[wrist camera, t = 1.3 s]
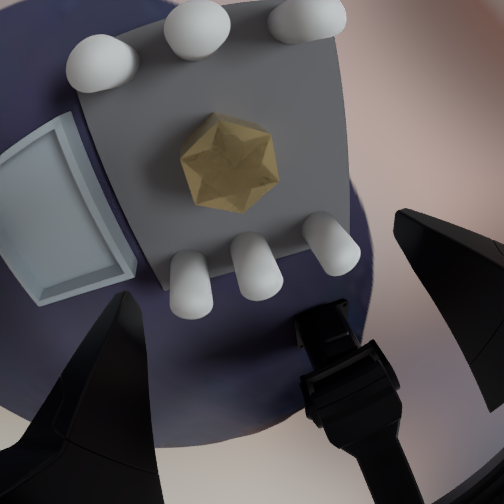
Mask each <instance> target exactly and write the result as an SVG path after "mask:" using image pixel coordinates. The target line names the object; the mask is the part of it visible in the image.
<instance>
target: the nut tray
mask: <svg viewBox="0 0 504 504" xmlns="http://www.w3.org/2000/svg"><path fill="white" fill-rule="evenodd" d="M0 255H1V256H2V258H3V259H4V261H5V262H6V264H7V265H8V267H9V268H10V270H11V271H12V273H13V274H14V275H15V277H16V278H17V280H18V281H19V282H20V284H21V285H22V286H23V288H24V289H25V290H26V292H27V293H28V294H29V295H30V297H31V298H32V299H33V300H34V302H35V303H36V304H37V305H38V307H40V306H43V305H46V304H49V303H53V302H56V301H59V300H62V299H66V298H69V297H72V296H75V295H78V294H82V293H85V292H88V291H92V290H95V289H98V288H101V287H105V286H108V285H111V284H114V283H118V282H121V281H124V280H128V279H131V278H134V277H135V274H136V268H137V262H138V261H137V259H136V257H135V255H134V254H133V252H132V250H131V248H130V246H129V244H128V242H127V240H126V239H125V237H124V235H123V233H122V231H121V229H120V227H119V225H118V223H117V221H116V219H115V217H114V215H113V213H112V211H111V208H110V206H109V204H108V202H107V200H106V198H105V196H104V193H103V191H102V189H101V187H100V184H99V182H98V180H97V178H96V175H95V173H94V171H93V168H92V166H91V163H90V161H89V159H88V156H87V154H86V151H85V148H84V146H83V143H82V141H81V138H80V135H79V133H78V130H77V127H76V124H75V121H74V119H73V116H72V113H71V111H70V112H67V113H64V114H62V115H59V116H58V117H56V118H54V119H52V120H51V121H49V122H48V123H46V124H44V125H43V126H41V127H40V128H38V129H36V130H35V131H33V132H32V133H30V134H29V135H27V136H26V137H24V138H23V139H22V140H20V141H19V142H17V143H16V144H15V145H13V146H12V147H11V148H9V149H8V150H7V151H5V152H4V153H3V154H1V155H0Z"/></svg>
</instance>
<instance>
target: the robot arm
mask: <svg viewBox="0 0 504 504" xmlns="http://www.w3.org/2000/svg"><path fill="white" fill-rule="evenodd" d="M393 233H394V237H395V239H396V240H397V242H398V244H399V246H400V247H401V249H402V251H403V252H404V254H405V256H406V258H407V259H408V261H409V263H410V265H411V267H412V268H413V270H414V272H415V273H416V275H417V276H418V278H419V279H420V281H421V283H422V284H423V286H424V287H425V289H426V290H427V292H428V293H429V295H430V296H431V298H432V300H433V301H434V303H435V305H436V306H437V308H438V309H439V311H440V313H441V314H442V316H443V318H444V320H445V321H446V323H447V325H448V327H449V328H450V330H451V332H452V334H453V335H454V337H455V339H456V341H457V343H458V345H459V346H460V348H461V350H462V352H463V354H464V356H465V358H466V360H467V362H468V364H469V365H470V366H469V367H470V369H471V371H472V373H473V375H474V377H475V379H476V382H477V384H478V386H479V388H480V391H481V393H482V395H483V397H484V400H485V403H486V405H487V408H488V410H489V412H490V413H491V412H492V411H494V410H495V409H497V408H498V407H499V406H501V405H502V404H503V403H504V244H502V243H499V242H497V241H494V240H492V239H490V238H487V237H485V236H482V235H480V234H477V233H475V232H473V231H470V230H467V229H465V228H462V227H459V226H457V225H454V224H451V223H449V222H446V221H443V220H440V219H437V218H435V217H432V216H429V215H426V214H423V213H419V212H417V211H414V210H411V209H407V208H404V209H402V210H398V211H397V212H396V213H395V220H394V229H393ZM348 306H349V302H348V301H347V300H346V299H344V300H341V301H338V302H335V303H332V304H330V305H327V306H324V307H321V308H318V309H315V310H312V311H309V312H306V313H303V314H300V315H297V316H295V317H294V319H293V320H294V327H295V335H296V342H297V347H298V349H302V348H305V350H306V352H307V355H308V357H309V360H310V362H311V365H312V367H313V370H314V371H313V372H311V373H309V374H306V375H302V376H300V379H301V383H300V384H299V385H300V388H301V391H302V394H303V397H304V404H305V412H306V416H307V418H308V419H311V420H313V422H314V423H315V424H316V426H317V427H318V428H322V427H323V428H324V431H325V433H326V435H327V437H328V439H329V441H330V443H332V444H333V445H334V446H336V447H337V448H339V449H340V448H341V449H342V450H344V451H346V452H347V453H349V454H351V455H352V456H354V457H355V458H356V459H357V461H358V463H359V466H360V468H361V471H362V473H363V475H364V478H365V481H366V483H367V485H368V488H369V490H370V492H371V495H372V498H373V500H374V502H375V504H424V501H423V498H422V495H421V493H420V490H419V488H418V485H417V483H416V481H415V478H414V475H413V473H412V470H411V468H410V466H409V463H408V461H407V459H406V456H405V454H404V452H403V449H402V447H401V445H400V443H399V440H398V432H399V426H400V419H401V414H402V403H401V400H400V398H399V396H398V394H397V392H396V391H397V390H398V389H400V384H399V381H398V379H397V376H396V374H395V372H394V370H393V368H392V366H391V365H390V363H389V362H388V360H387V359H386V357H385V355H384V354H383V353H382V351H381V349H380V348H379V346H378V345H377V343H376V342H375V340H374V339H373V340H371V341H369V343H367V344H365V345H364V346H362V347H361V345H360V344H359V342H358V340H357V338H356V336H355V334H354V333H353V331H352V329H351V327H350V325H349V324H348V322H347V316H348ZM0 504H164V499H163V495H162V489H161V485H160V479H159V475H158V469H157V462H156V455H155V448H154V440H153V432H152V423H151V412H150V400H149V386H148V367H147V351H146V344H145V336H144V328H143V319H142V312H141V309H140V307H139V305H138V304H137V302H136V301H135V299H134V298H133V296H132V295H131V293H130V292H129V291H126V290H125V291H122V292H118V293H116V294H115V295H114V297H113V298H112V299H111V301H110V302H109V303H108V305H107V306H106V308H105V309H104V310H103V312H102V313H101V315H100V316H99V317H98V319H97V320H96V322H95V323H94V325H93V326H92V328H91V329H90V330H89V332H88V333H87V335H86V336H85V338H84V339H83V341H82V342H81V344H80V345H79V347H78V348H77V350H76V352H75V353H74V355H73V356H72V358H71V359H70V361H69V362H68V364H67V366H66V367H65V369H64V371H63V372H62V374H61V376H60V377H59V379H58V380H57V382H56V384H55V385H54V387H53V389H52V390H51V392H50V394H49V395H48V397H47V399H46V400H45V402H44V403H43V405H42V406H41V408H40V409H39V411H38V412H37V414H36V415H35V417H34V419H33V420H32V422H31V423H30V425H29V426H28V428H27V430H26V431H25V433H24V434H23V436H22V437H21V439H20V440H19V441H18V442H17V443H15V444H14V445H12V446H11V447H9V448H6V449H4V450H1V451H0ZM432 504H504V448H503V449H502V450H501V451H499V453H497V454H496V455H495V456H494V457H493V458H492V459H491V460H490V461H489V462H487V464H485V465H484V466H483V467H482V468H481V469H479V470H478V471H477V472H476V473H474V474H473V475H472V476H471V477H469V478H468V479H467V480H465V481H464V482H463V483H461V484H460V485H459V486H457V487H456V488H455V489H453V490H452V491H450V492H449V493H447V494H446V495H444V496H443V497H442V498H440V499H438V500H437V501H435V502H434V503H432Z"/></svg>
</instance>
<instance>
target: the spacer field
mask: <svg viewBox="0 0 504 504" xmlns="http://www.w3.org/2000/svg"><path fill="white" fill-rule="evenodd" d="M345 24H346V12H345V9H344V7H343V5H342V4H341V2H340V1H339V0H260V1H250V2H242V3H235V4H228V5H222V6H220V5H218V4H217V3H214V2H212V1H209V0H191V1H187V2H185V3H182V4H180V5H179V6H177V7H176V8H174V9H173V10H172V11H171V12H170V14H169V15H168V17H167V19H163V20H160V21H157V22H154V23H151V24H148V25H145V26H142V27H139V28H137V29H134V30H131V31H129V32H126V33H124V34H121V35H119V36H116V37H114V38H113V37H111V36H108V35H103V34H100V35H93V36H90V37H88V38H86V39H84V40H83V41H81V42H80V43H79V44H78V45H77V46H76V47H75V48H74V49H73V51H72V52H71V54H70V56H69V58H68V61H67V65H66V75H67V79H68V81H69V83H70V84H71V86H72V87H73V88H74V89H76V91H77V94H78V97H79V100H80V103H81V106H82V109H83V112H84V115H85V118H86V121H87V124H88V127H89V130H90V132H91V135H92V138H93V141H94V143H95V146H96V149H97V151H98V154H99V156H100V159H101V161H102V164H103V166H104V169H105V171H106V173H107V176H108V178H109V180H110V183H111V185H112V187H113V190H114V192H115V194H116V196H117V199H118V201H119V203H120V205H121V207H122V210H123V212H124V214H125V216H126V218H127V220H128V222H129V224H130V226H131V229H132V231H133V233H134V235H135V237H136V239H137V241H138V243H139V245H140V247H141V248H142V250H143V252H144V254H145V256H146V258H147V260H148V262H149V264H150V266H151V267H152V269H153V271H154V273H155V275H156V277H157V278H158V280H159V282H160V284H161V286H162V287H163V289H164V291H167V290H170V308H171V310H172V312H173V313H174V314H175V315H177V316H178V317H181V318H184V319H198V318H201V317H203V316H205V315H207V314H208V313H209V312H210V311H211V309H212V307H213V299H212V292H211V286H210V279H209V278H212V277H216V276H219V275H223V274H226V273H230V272H233V271H235V272H236V276H237V280H238V284H239V288H240V291H241V294H242V295H243V296H244V297H245V298H247V299H249V300H254V301H260V300H265V299H268V298H270V297H272V296H274V295H275V294H276V293H277V292H278V291H279V290H280V289H281V287H282V284H283V277H282V275H281V272H280V270H279V268H278V266H277V263H276V261H275V259H277V258H281V257H284V256H287V255H291V254H294V253H297V252H301V251H304V250H307V249H311V250H312V251H313V253H314V254H315V256H316V258H317V259H318V261H319V262H320V264H321V266H322V267H323V269H324V270H325V272H326V273H327V274H329V275H331V276H340V275H343V274H345V273H347V272H349V271H350V270H351V269H353V268H354V266H355V265H356V264H357V262H358V261H359V258H360V248H359V246H358V245H357V244H356V243H355V242H354V240H353V239H352V238H351V237H350V236H349V234H350V193H349V163H348V145H347V131H346V119H345V109H344V100H343V92H342V83H341V75H340V68H339V62H338V55H337V49H336V44H335V38H334V36H336V35H337V34H339V33H340V32H341V31H342V30H343V29H344V27H345ZM213 112H216V113H220V114H224V115H228V116H232V117H235V118H239V119H243V120H246V121H250V122H253V123H257V124H258V125H259V126H261V127H262V128H263V129H265V130H266V131H267V132H269V133H270V134H271V136H272V141H273V147H274V152H275V158H276V164H277V169H278V175H279V182H278V183H277V184H276V185H275V186H274V187H273V188H271V189H270V190H269V191H268V192H267V193H266V194H265V195H263V196H262V197H261V198H260V199H259V200H258V201H257V202H256V203H254V204H253V205H252V206H251V207H250V208H249V209H248V210H247V211H245V212H244V213H243V214H242V213H236V212H231V211H226V210H220V209H215V208H210V207H204V206H198V205H195V203H194V200H193V197H192V194H191V191H190V188H189V185H188V182H187V179H186V176H185V173H184V170H183V167H182V164H181V161H180V153H181V144H182V143H183V142H184V141H185V140H186V139H187V138H188V137H189V136H190V135H191V134H192V133H193V132H194V131H195V130H196V129H197V128H198V127H199V126H200V125H201V124H202V123H203V122H204V121H205V120H206V119H207V118H208V117H209V116H210V115H211V114H212V113H213Z"/></svg>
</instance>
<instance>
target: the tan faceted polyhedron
mask: <svg viewBox="0 0 504 504" xmlns="http://www.w3.org/2000/svg"><path fill="white" fill-rule="evenodd" d="M180 161H181V164H182V167H183V170H184V173H185V176H186V179H187V182H188V185H189V188H190V191H191V194H192V197H193V200H194V203H195V205H198V206H204V207H210V208H215V209H220V210H226V211H231V212H236V213H242V214H243V213H244V212H245V211H247V210H248V209H249V208H250V207H251V206H252V205H253V204H254V203H256V202H257V201H258V200H259V199H260V198H261V197H262V196H263V195H265V194H266V193H267V192H268V191H269V190H270V189H271V188H273V187H274V186H275V185H276V184H277V183H278V182H279V175H278V169H277V164H276V158H275V152H274V147H273V141H272V136H271V134H270V133H269V132H267V131H266V130H265V129H263V128H262V127H261V126H259V125H258V124H257V123H253V122H250V121H246V120H243V119H239V118H235V117H232V116H228V115H224V114H220V113H216V112H213V113H212V114H211V115H210V116H209V117H208V118H207V119H206V120H205V121H204V122H203V123H202V124H201V125H200V126H199V127H198V128H197V129H196V130H195V131H194V132H193V133H192V134H191V135H190V136H189V137H188V138H187V139H186V140H185V141H184V142H183V143H182V144H181V153H180Z"/></svg>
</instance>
